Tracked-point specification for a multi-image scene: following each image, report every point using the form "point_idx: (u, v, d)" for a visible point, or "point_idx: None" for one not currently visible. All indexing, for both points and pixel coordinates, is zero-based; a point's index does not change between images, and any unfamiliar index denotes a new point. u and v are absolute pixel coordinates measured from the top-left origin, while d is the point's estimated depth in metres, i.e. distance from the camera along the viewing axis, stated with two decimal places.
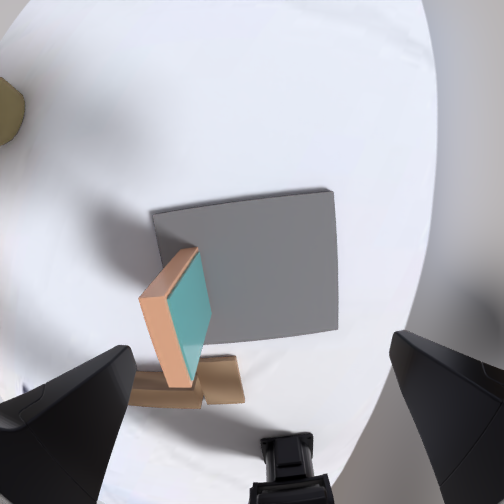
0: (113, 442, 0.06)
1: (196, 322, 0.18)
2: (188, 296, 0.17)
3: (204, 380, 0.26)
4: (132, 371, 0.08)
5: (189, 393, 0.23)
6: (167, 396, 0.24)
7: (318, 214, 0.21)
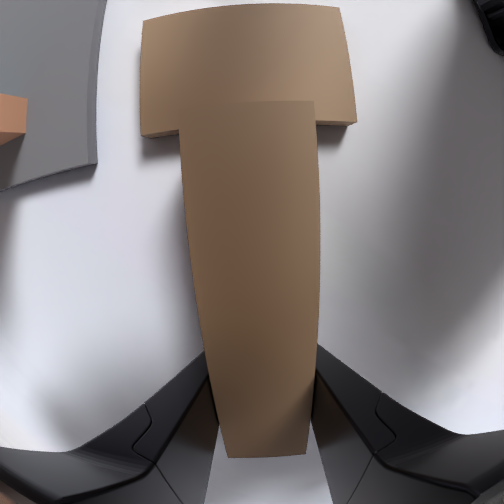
0: (212, 456, 0.06)
1: None
2: None
3: None
4: None
5: (200, 132, 0.05)
6: (234, 253, 0.06)
7: None
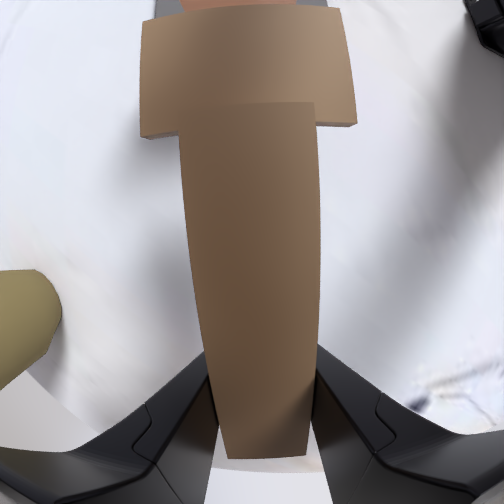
0: (212, 456, 0.06)
1: None
2: None
3: None
4: None
5: (200, 134, 0.05)
6: (234, 255, 0.06)
7: None
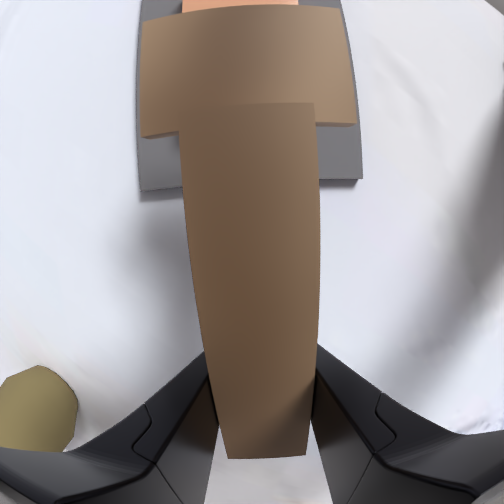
0: (212, 456, 0.06)
1: None
2: None
3: None
4: None
5: (200, 134, 0.05)
6: (235, 255, 0.06)
7: None
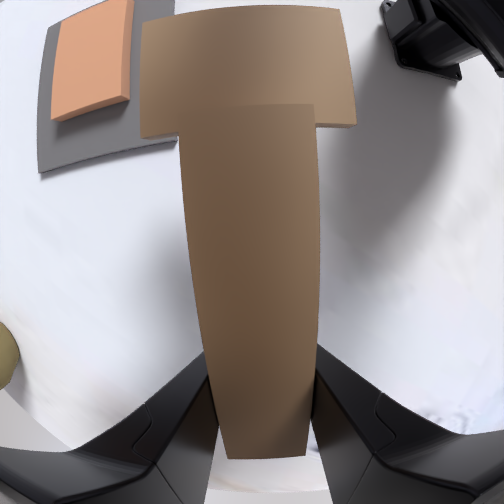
0: (212, 456, 0.06)
1: None
2: None
3: None
4: None
5: (199, 135, 0.05)
6: (234, 256, 0.06)
7: (59, 31, 0.13)
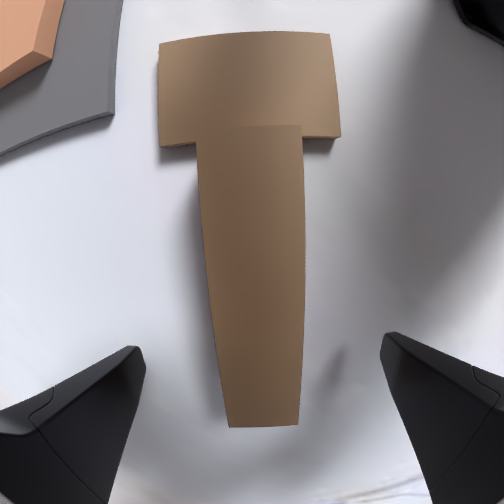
0: (123, 444, 0.06)
1: None
2: None
3: (229, 122, 0.08)
4: (142, 372, 0.08)
5: (213, 149, 0.07)
6: (238, 243, 0.07)
7: None
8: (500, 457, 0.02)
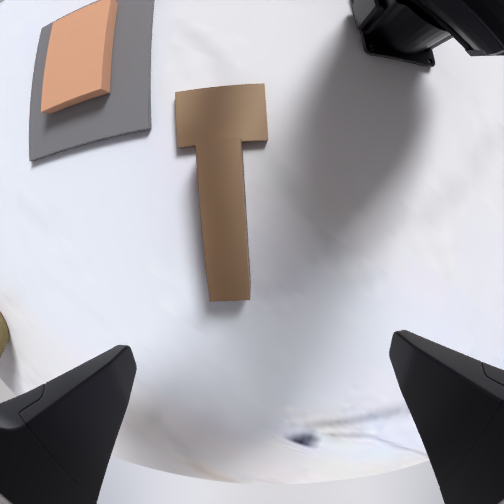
0: (113, 442, 0.06)
1: None
2: None
3: (211, 135, 0.17)
4: (132, 371, 0.08)
5: (202, 149, 0.15)
6: (213, 188, 0.16)
7: None
8: None
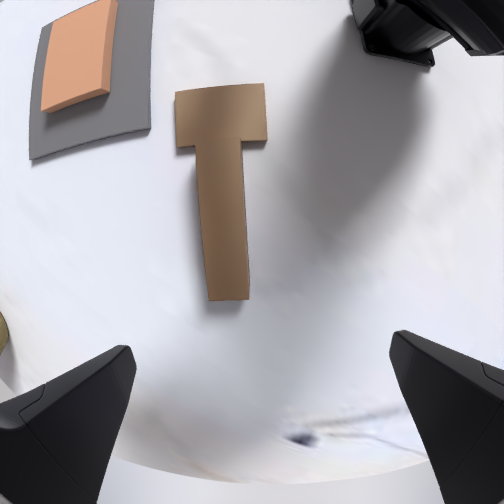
0: (113, 442, 0.06)
1: None
2: None
3: (211, 135, 0.17)
4: (132, 371, 0.08)
5: (202, 148, 0.15)
6: (213, 188, 0.16)
7: None
8: None
